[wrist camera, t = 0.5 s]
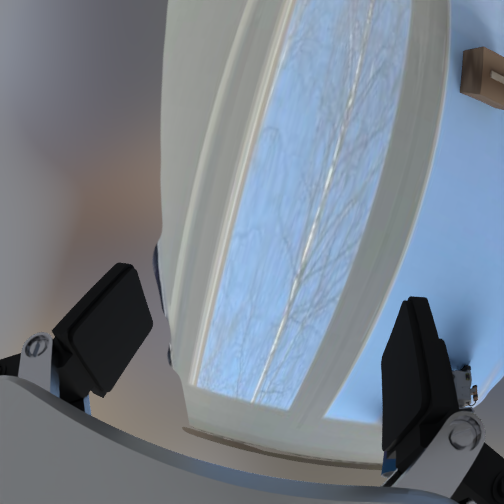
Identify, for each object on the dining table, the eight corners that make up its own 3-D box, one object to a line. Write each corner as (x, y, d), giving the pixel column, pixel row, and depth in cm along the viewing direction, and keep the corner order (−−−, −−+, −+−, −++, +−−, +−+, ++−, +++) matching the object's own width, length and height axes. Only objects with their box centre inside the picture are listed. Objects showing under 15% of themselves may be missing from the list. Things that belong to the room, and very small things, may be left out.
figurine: (415, 386, 52) (419, 445, 40) (445, 354, 46) (457, 418, 33) (444, 390, 51) (451, 445, 39) (474, 360, 45) (489, 419, 32)
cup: (412, 423, 60) (412, 471, 48) (395, 432, 64) (394, 478, 51) (395, 418, 60) (394, 469, 48) (378, 428, 64) (375, 476, 51)
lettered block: (463, 50, 22) (484, 46, 17) (498, 68, 21) (523, 68, 16) (459, 92, 25) (481, 94, 20) (495, 107, 24) (519, 113, 19)
